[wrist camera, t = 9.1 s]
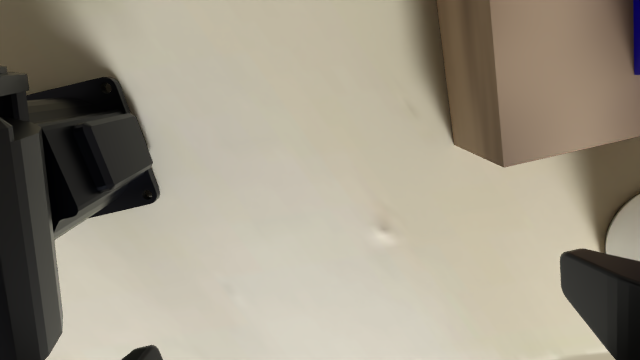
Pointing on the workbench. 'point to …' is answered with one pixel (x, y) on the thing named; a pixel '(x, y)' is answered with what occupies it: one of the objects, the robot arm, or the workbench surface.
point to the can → (625, 231)
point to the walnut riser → (539, 76)
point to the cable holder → (636, 36)
